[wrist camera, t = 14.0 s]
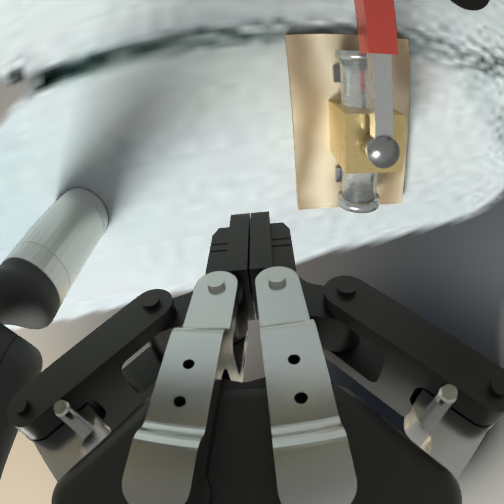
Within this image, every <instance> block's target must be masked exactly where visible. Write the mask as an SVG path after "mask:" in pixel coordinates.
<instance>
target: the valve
mask: <svg viewBox="0 0 504 504" xmlns="http://www.w3.org/2000/svg"><path fill="white" fill-rule="evenodd" d="M334 54H335V59H339V61H340V66H332V72H333V82H341V100H328V108H329V138H330V151H331V152H332V154H333V155H334V157H335V158H336V160H337V162H338V163H339V165H340V166H335V181H336V182H342V190H340V191H339V192H338V204H339V206H340V207H341V208H343V209H345V210H347V211H350V212H355V213H368V212H372V211H375V210H376V209H377V208H378V207H379V200H380V196H379V194H378V193H377V192H376V189H377V175H378V173H386V172H401V170H402V158H403V144H404V127H405V115H404V114H402V113H401V112H399V111H397V110H395V109H394V108H393V139H394V140H395V141H396V142H397V144H398V145H399V148H400V155H399V158H398V160H397V162H396V163H395V164H394V165H393V166H391V167H389V168H378V167H376V166H375V165H374V164H373V163H372V162H371V161H370V160H369V159H368V158H367V156H366V155H365V154H364V152H363V148H362V144H363V140H364V138H365V137H366V136H367V135H368V134H369V133H370V111H369V84H368V66H367V53H362V52H360V51H357V50H334Z"/></svg>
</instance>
